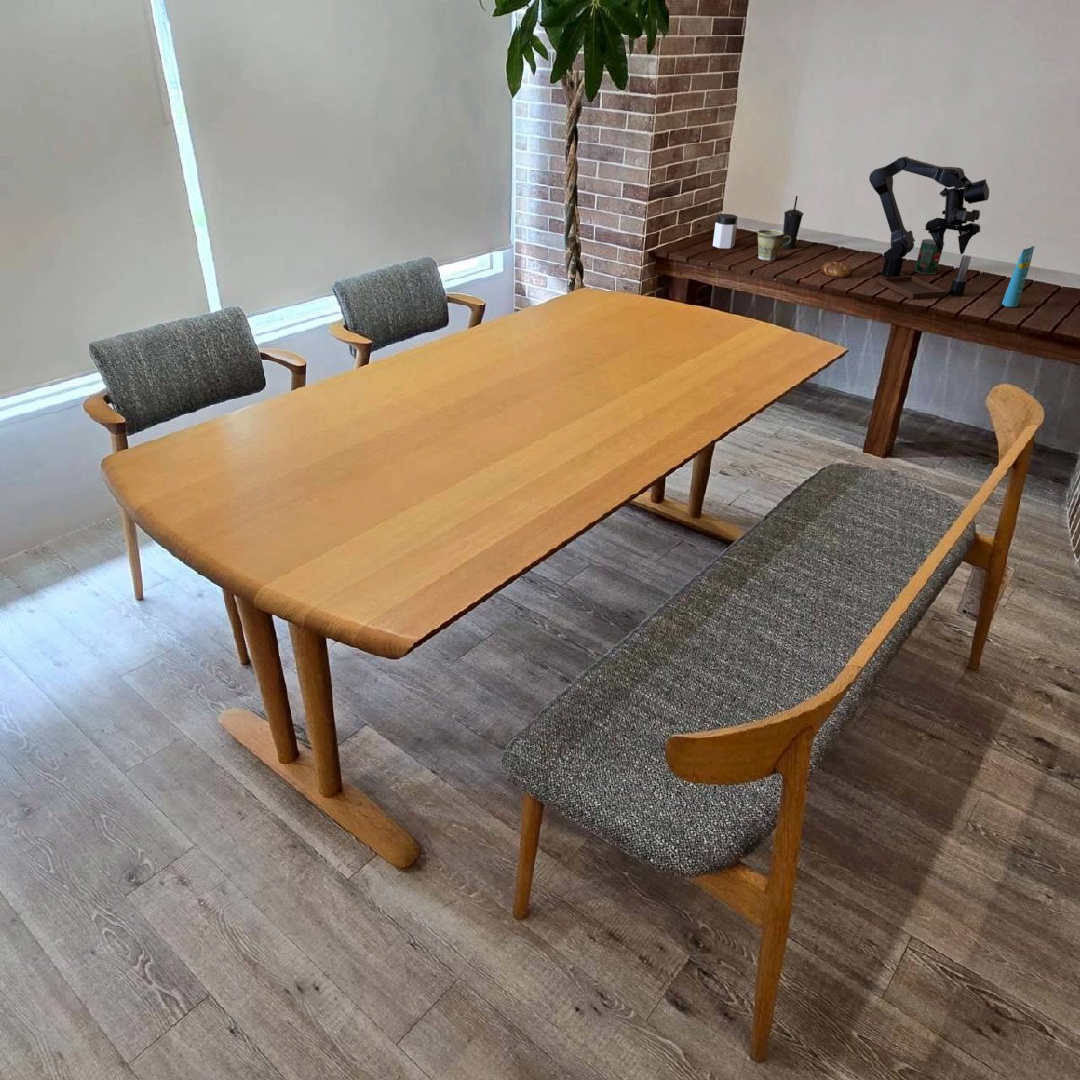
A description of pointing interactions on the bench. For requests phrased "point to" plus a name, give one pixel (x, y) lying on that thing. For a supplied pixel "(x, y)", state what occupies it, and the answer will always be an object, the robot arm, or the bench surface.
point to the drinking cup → (791, 226)
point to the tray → (912, 287)
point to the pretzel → (836, 269)
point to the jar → (725, 231)
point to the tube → (1018, 278)
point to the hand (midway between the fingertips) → (951, 252)
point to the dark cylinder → (960, 277)
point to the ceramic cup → (769, 243)
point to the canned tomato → (928, 257)
